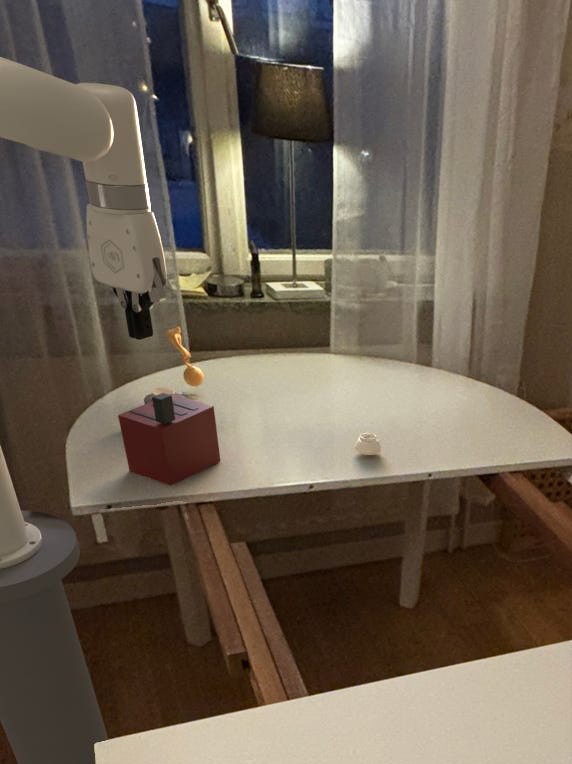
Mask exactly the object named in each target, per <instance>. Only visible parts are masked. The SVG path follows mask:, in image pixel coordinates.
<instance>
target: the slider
mask: <svg viewBox="0 0 572 764" xmlns="http://www.w3.org/2000/svg"><path fill="white" fill-rule="evenodd" d="M152 400H153V406H154V412H155V417H156V421H157V422H160V423H163V424H166V423H169V422H171V421H173V420H175V413H174V407H173V401H172V395H169V394H166V393H161V394H159V395H156V396H154V397H152Z"/></svg>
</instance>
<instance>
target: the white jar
mask: <svg viewBox="0 0 572 764" xmlns="http://www.w3.org/2000/svg"><path fill="white" fill-rule="evenodd" d="M382 449H383V447H382V445H381V443H380V441H379V439H378V436H377V435H376V434H374V433H372V432H364V433H360V434H359V437H358V438H357V440H356V442H355V444H354V450H355V452H357V453H359V454H361V455H364V456H365V455H367V456H371V455H377V454H379V453H381V452H382Z"/></svg>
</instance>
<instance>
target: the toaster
mask: <svg viewBox="0 0 572 764" xmlns="http://www.w3.org/2000/svg"><path fill="white" fill-rule="evenodd" d="M169 395H172V401H173V407H174V413H175V420H173V421H171V422H169V423H166V424H163V423H160V422H157V421H156V417H155V412H154V406H153V401H152V402H149V403H147V404H144V403H143V404H142V405H140V406H137V407H134V408H131V409H129V410H127V411H125V412H122V413H120V414H118V416H117V417H118V421H119V427H120V432H121V436H122V441H123V447H124V452H125V455H126V460H127V466H128V471H129V473H131V474H135V475H138V476H141V477H144V478H146V477H147V479H149V478H150V479H149V480H153V481H155V482H159V483H162V484H163V485H164V484H165V485H167V486H170V487H173V486H175V485H176V484H178V483H181V482H182V481H185V480H186V479H189V478H190V477H193V476H195V475H197V474H199V473H200V472H202V471H204V470H207V469H208V468H210V467H211V466H214V465H216V464H217V463H220V462H221V453H220V445H219V438H218V431H217V422H216V415H215V407H214V406H213V405H211V404H208V403H204V402H201V401H198V400H195V399H192V398H188V397H185V396H183V395H182V396H183V397H182V396H179V395H176V394H169Z"/></svg>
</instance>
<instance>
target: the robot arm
mask: <svg viewBox="0 0 572 764" xmlns="http://www.w3.org/2000/svg"><path fill="white" fill-rule="evenodd" d="M0 138H2V139H5V140H9V141H12V142H16V143H19V144H23V145H27V146H28V147H30V148H32V149H35V150H38V151H40V152H41V151H42V152H45V153H49V154H53V155H56V156H62V157H64V158H67V159H68V158H69V159H72V160H75V161H79V162H82V167H83V171H84V177H85V189H86V190H87V194H88V199H89V203H88V204H86V213H85V215H86V217H85V218H86V220H85V221H86V236H87V245H88V246H87V247H88V254H89V261H90V267H91V272H92V276H93V278H94V280H96V281H97V282H99V283H101V284H102V285H103V287H104V288H106V289H107V290H109V291H111V292H112V293H114V295H115V296H116V297H117V299H118V302H119V305H120V307H121V309H123V310H124V315H125V319H126V320H125V322H126V326H127V332H128V337H129V338H131V339H135V340H138V341H141V340H144V339H148V338H150V337H153V335H154V330H153V329H154V328H153V322H152V316H151V310H152V309H153V307H154V304H155V303H160V302H163V301H166V300H167V295H166V292H165V288H166V287H167V286H168V272H167V265H166V259H165V253H164V247H163V243H162V238H161V235H160V231H159V227H158V224H157V221H156V218H155V214H154V211H152V210H151V201H150V194H149V187H148V181H147V174H146V166H145V160H144V159H145V158H144V152H143V144H142V137H141V130H140V122H139V115H138V107H137V103H136V99H135V97H134V95H133V94H132V92H131V91H129V90H128V88H125V87H123V86H118V85H115V84H114V85H113V84H107V83H96V82H79V83H76V84H75V83H72V82H70V81H67V80H65V79H62V78H60V77H56V76H54V75H52V74H49V73H47V72H44V71H41V70H39V69H36V68H33V67H30V66H27V65H25V64H21V63H19V62H16V61H13V60H11V59H8V58H6V57H2V56H0ZM42 542H43V540H42V536H41V533H40V531H39V529H38V528H37V527H35V526H34V525H32V524H30V523H27V522H24V519H23V516H22V513H21V507H20V503H19V500H18V497H17V494H16V491H15V487H14V484H13V481H12V477H11V474H10V471H9V468H8V465H7V461H6V459H5V456H4V453H3V449H2V445H0V569H3V568H7V567H10V566H14V565H16V564H19V563H21V562H23V561H25V560H27V559H29V558H30V557H32V556H33V555H34V554H35V553H36V552H37V551H38V550H39V549H40V547H41V546H42Z"/></svg>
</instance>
